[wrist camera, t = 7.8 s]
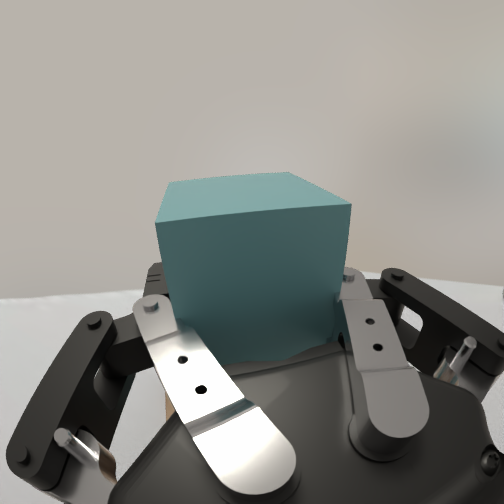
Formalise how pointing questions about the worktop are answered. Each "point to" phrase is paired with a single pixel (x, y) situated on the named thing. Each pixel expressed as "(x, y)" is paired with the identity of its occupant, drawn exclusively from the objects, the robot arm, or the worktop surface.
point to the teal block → (253, 262)
